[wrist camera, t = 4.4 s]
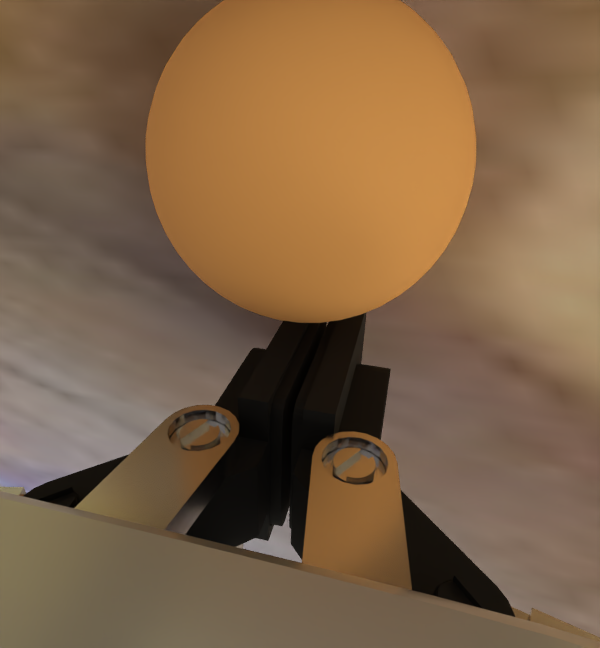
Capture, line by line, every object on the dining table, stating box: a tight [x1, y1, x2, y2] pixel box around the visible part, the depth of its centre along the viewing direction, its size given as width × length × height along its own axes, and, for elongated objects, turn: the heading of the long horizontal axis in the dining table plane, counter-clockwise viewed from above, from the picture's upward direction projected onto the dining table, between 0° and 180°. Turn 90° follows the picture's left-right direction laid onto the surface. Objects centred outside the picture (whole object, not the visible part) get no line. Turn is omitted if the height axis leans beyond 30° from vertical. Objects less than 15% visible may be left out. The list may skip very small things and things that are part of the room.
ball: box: [146, 0, 476, 323], centre depth 9 cm, size 6×6×6 cm
